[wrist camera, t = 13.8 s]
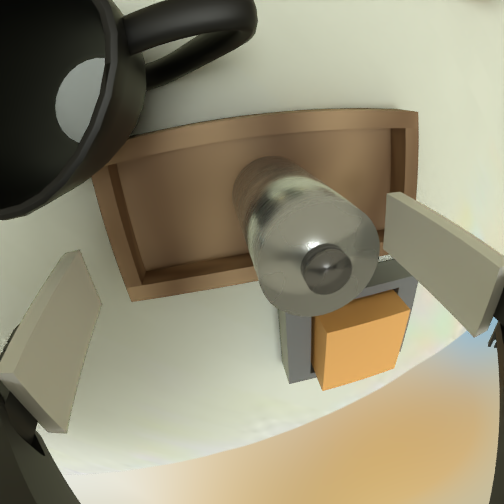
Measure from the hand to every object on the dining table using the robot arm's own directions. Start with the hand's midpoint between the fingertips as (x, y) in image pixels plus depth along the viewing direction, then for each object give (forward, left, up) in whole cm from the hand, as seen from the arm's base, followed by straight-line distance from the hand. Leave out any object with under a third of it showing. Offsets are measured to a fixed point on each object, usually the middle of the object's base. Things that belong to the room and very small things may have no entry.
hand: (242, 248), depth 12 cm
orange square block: (+7, -10, -5) cm, 13 cm away
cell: (+2, 0, -6) cm, 6 cm away
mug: (-5, +7, -7) cm, 11 cm away
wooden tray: (+2, 0, -6) cm, 7 cm away
